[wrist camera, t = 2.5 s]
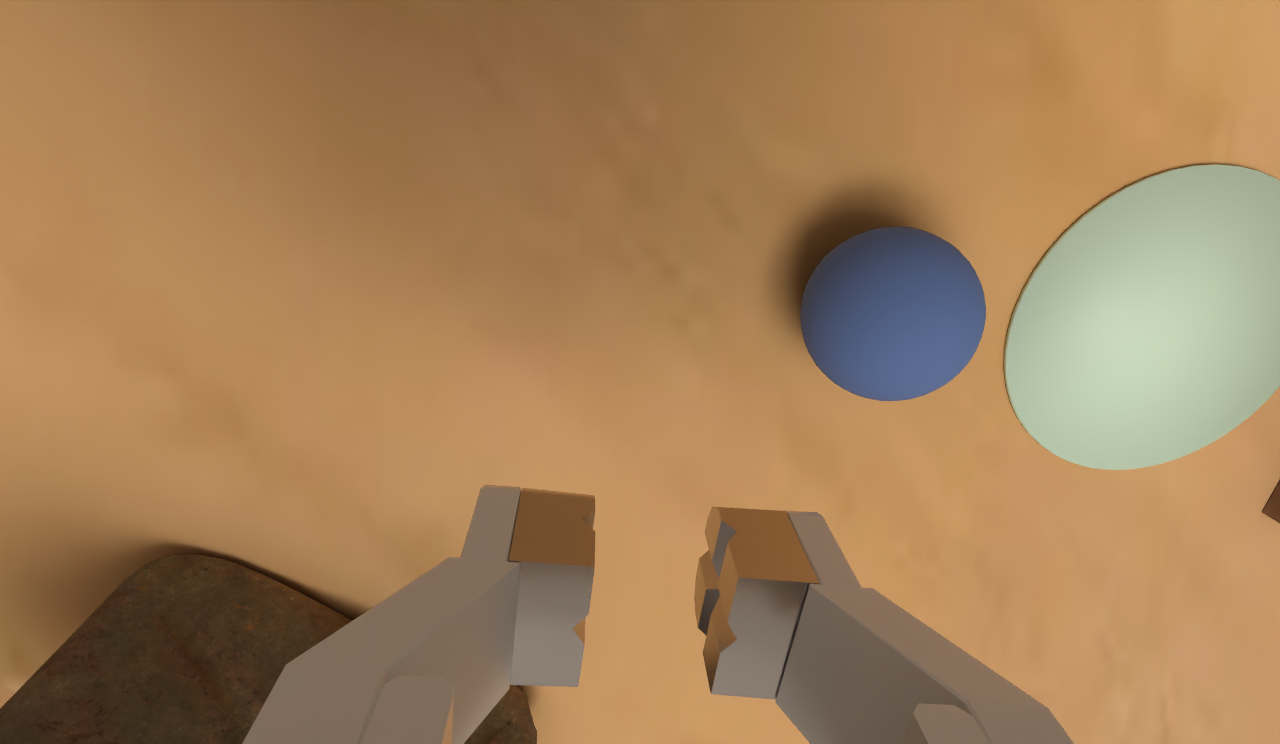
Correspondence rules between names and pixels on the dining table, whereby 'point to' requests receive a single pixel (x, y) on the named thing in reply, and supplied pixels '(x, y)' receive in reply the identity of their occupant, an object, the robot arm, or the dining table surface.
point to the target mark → (1152, 320)
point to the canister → (189, 662)
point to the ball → (893, 313)
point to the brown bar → (1274, 505)
